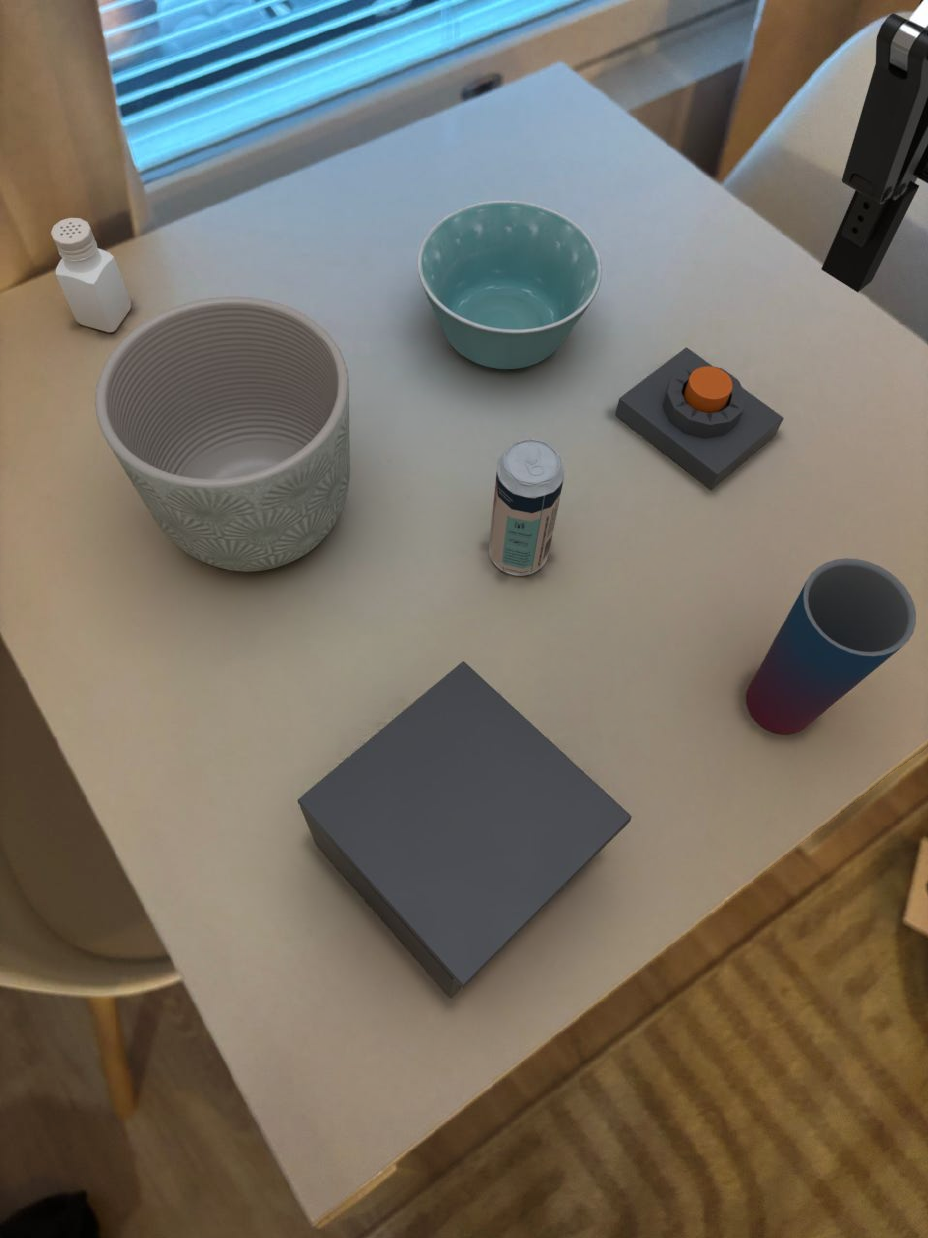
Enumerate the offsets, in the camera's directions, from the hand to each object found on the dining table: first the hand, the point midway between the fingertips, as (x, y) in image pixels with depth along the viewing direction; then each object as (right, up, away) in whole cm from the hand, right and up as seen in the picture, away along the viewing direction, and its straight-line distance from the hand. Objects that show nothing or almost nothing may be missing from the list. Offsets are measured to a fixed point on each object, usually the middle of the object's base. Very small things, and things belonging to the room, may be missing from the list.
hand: (846, 274), depth 57 cm
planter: (-40, -12, +20) cm, 46 cm away
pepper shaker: (-56, +7, +30) cm, 64 cm away
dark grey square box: (-24, -37, +7) cm, 44 cm away
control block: (-3, -4, +26) cm, 26 cm away
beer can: (-19, -16, +19) cm, 31 cm away
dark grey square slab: (-23, -32, -1) cm, 40 cm away
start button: (-3, -2, +22) cm, 23 cm away
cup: (0, -27, +13) cm, 30 cm away
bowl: (-20, +5, +30) cm, 36 cm away
